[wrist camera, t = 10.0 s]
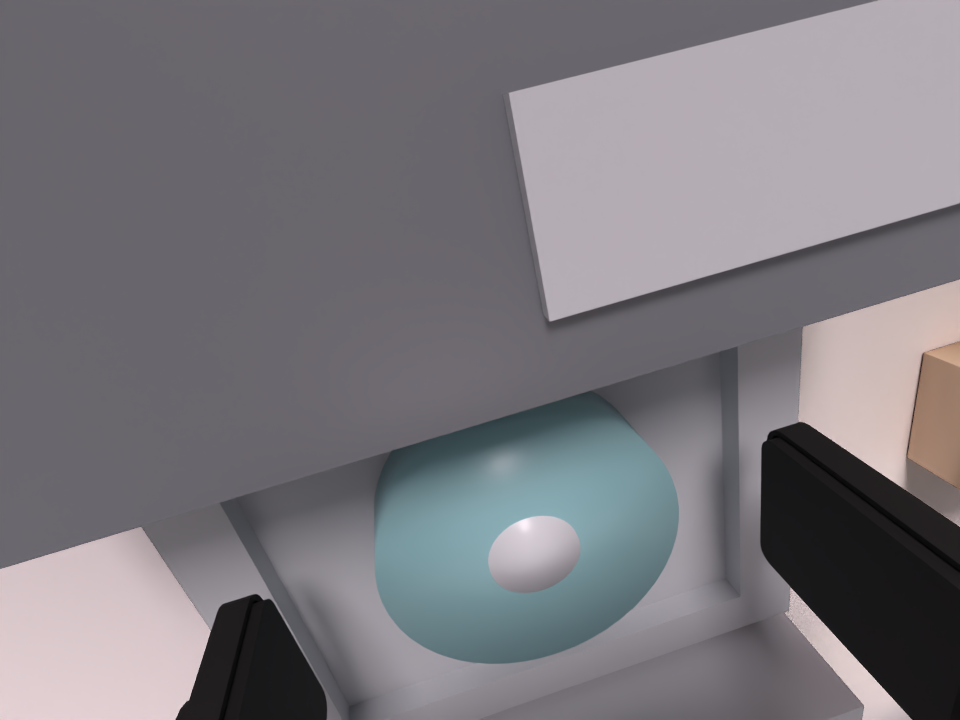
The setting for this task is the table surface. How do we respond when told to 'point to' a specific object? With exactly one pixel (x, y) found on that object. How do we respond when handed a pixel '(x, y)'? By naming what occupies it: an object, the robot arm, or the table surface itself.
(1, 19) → the box
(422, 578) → the dome with round knob
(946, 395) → the tan cube
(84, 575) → the table surface
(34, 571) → the table surface
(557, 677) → the tray
